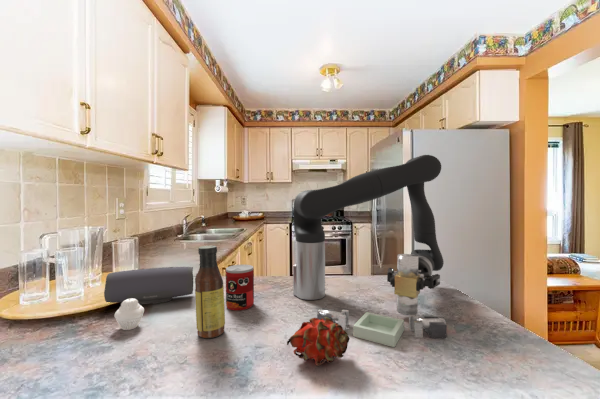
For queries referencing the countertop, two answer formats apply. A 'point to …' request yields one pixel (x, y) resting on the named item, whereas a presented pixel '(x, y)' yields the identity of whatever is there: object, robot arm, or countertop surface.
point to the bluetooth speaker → (149, 284)
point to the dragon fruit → (320, 340)
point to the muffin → (129, 314)
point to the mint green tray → (379, 329)
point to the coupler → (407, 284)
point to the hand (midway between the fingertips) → (405, 284)
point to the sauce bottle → (209, 295)
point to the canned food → (239, 287)
